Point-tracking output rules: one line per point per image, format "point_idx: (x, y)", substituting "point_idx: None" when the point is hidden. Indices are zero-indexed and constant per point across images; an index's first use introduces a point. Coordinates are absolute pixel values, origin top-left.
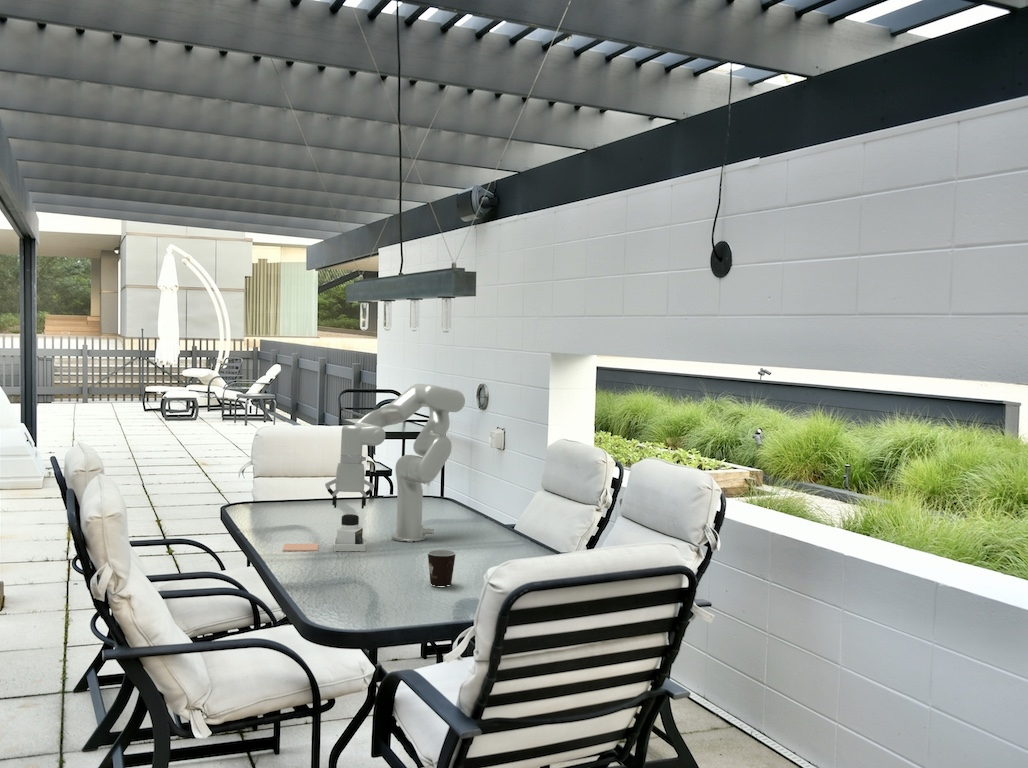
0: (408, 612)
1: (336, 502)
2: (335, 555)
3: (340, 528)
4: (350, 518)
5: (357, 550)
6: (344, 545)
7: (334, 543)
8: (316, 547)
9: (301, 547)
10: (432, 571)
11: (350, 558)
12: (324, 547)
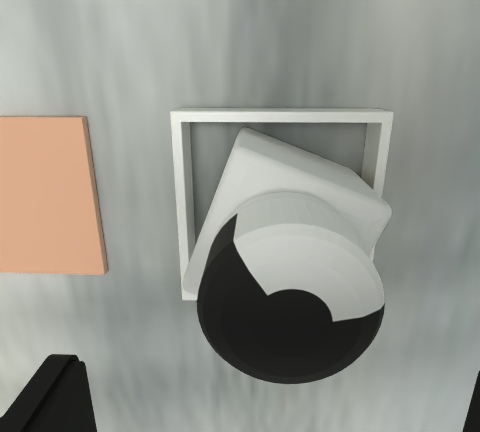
0: None
1: (52, 405)
2: (204, 344)
3: (205, 263)
4: (288, 381)
5: None
6: None
7: (185, 271)
8: (88, 223)
9: (7, 219)
10: None
11: (273, 395)
12: (130, 177)
